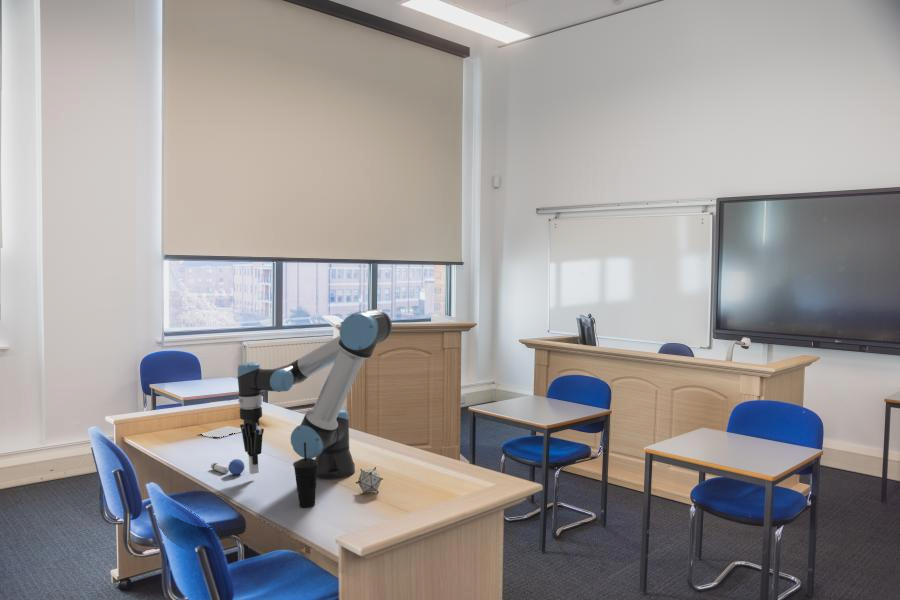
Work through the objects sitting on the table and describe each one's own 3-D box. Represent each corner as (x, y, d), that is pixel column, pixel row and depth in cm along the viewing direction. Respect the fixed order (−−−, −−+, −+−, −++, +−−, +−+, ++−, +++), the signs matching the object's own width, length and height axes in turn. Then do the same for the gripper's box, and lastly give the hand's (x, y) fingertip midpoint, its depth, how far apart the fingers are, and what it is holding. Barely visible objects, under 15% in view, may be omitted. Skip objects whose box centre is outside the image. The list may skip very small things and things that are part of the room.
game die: (373, 505, 219) (376, 487, 212) (350, 495, 220) (352, 477, 214) (385, 484, 225) (388, 466, 219) (362, 474, 227) (365, 456, 221)
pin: (222, 474, 242) (210, 469, 247) (229, 472, 244) (217, 468, 249) (222, 467, 242) (210, 463, 247) (228, 466, 243) (216, 461, 249)
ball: (239, 463, 246) (248, 470, 243) (227, 472, 243) (236, 480, 240) (236, 453, 243) (246, 461, 240) (223, 463, 239) (233, 471, 237)
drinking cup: (321, 500, 214) (319, 439, 212) (317, 509, 206) (315, 445, 205) (297, 501, 213) (295, 439, 212) (292, 510, 206) (290, 446, 205)
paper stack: (262, 433, 299) (262, 432, 299) (216, 447, 278) (216, 446, 278) (227, 427, 312) (227, 425, 311) (181, 440, 290) (181, 439, 290)
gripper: (232, 406, 236) (235, 471, 238) (249, 411, 227) (253, 479, 228) (251, 402, 241) (255, 466, 243) (269, 407, 232) (273, 474, 233)
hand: (254, 472), depth 235 cm, fingers closed
